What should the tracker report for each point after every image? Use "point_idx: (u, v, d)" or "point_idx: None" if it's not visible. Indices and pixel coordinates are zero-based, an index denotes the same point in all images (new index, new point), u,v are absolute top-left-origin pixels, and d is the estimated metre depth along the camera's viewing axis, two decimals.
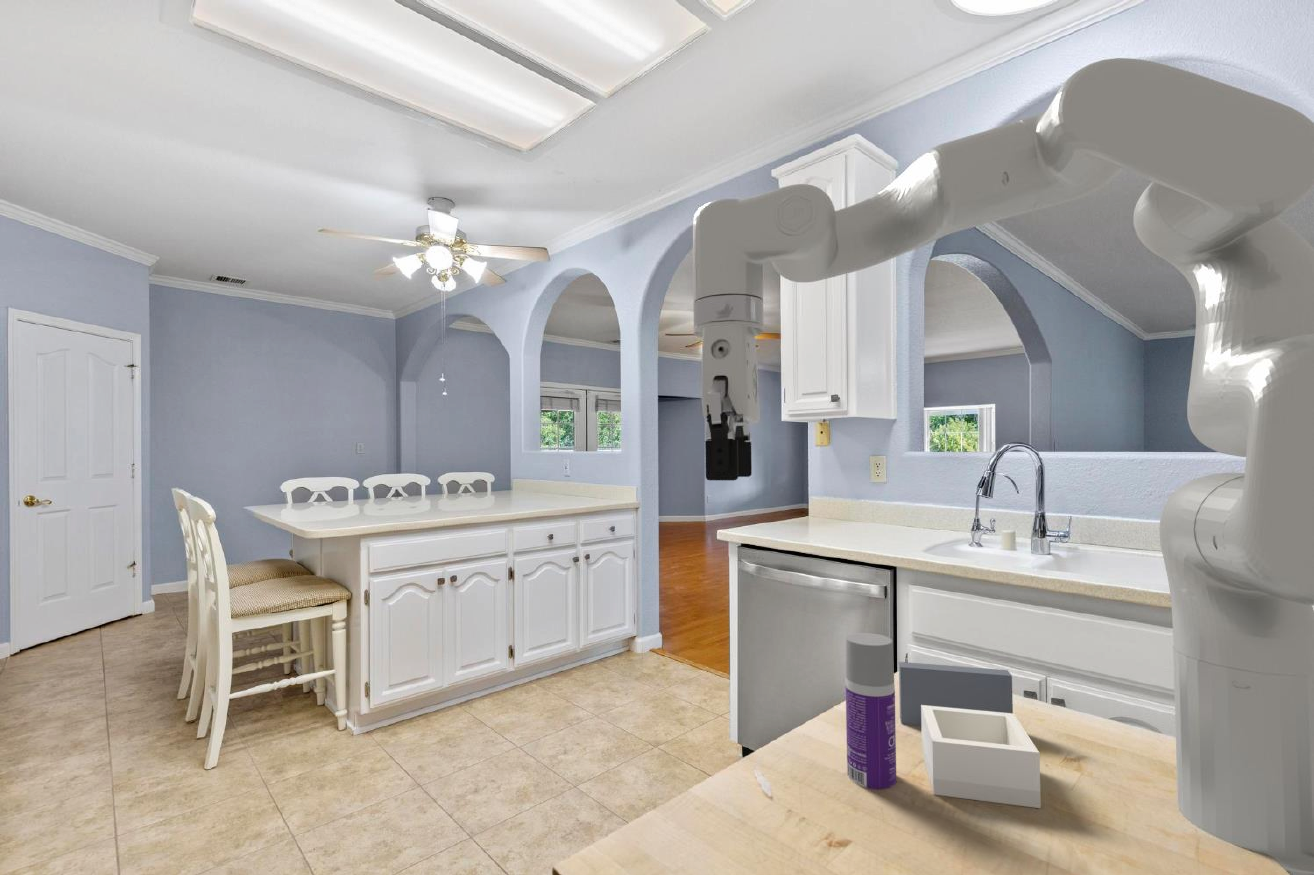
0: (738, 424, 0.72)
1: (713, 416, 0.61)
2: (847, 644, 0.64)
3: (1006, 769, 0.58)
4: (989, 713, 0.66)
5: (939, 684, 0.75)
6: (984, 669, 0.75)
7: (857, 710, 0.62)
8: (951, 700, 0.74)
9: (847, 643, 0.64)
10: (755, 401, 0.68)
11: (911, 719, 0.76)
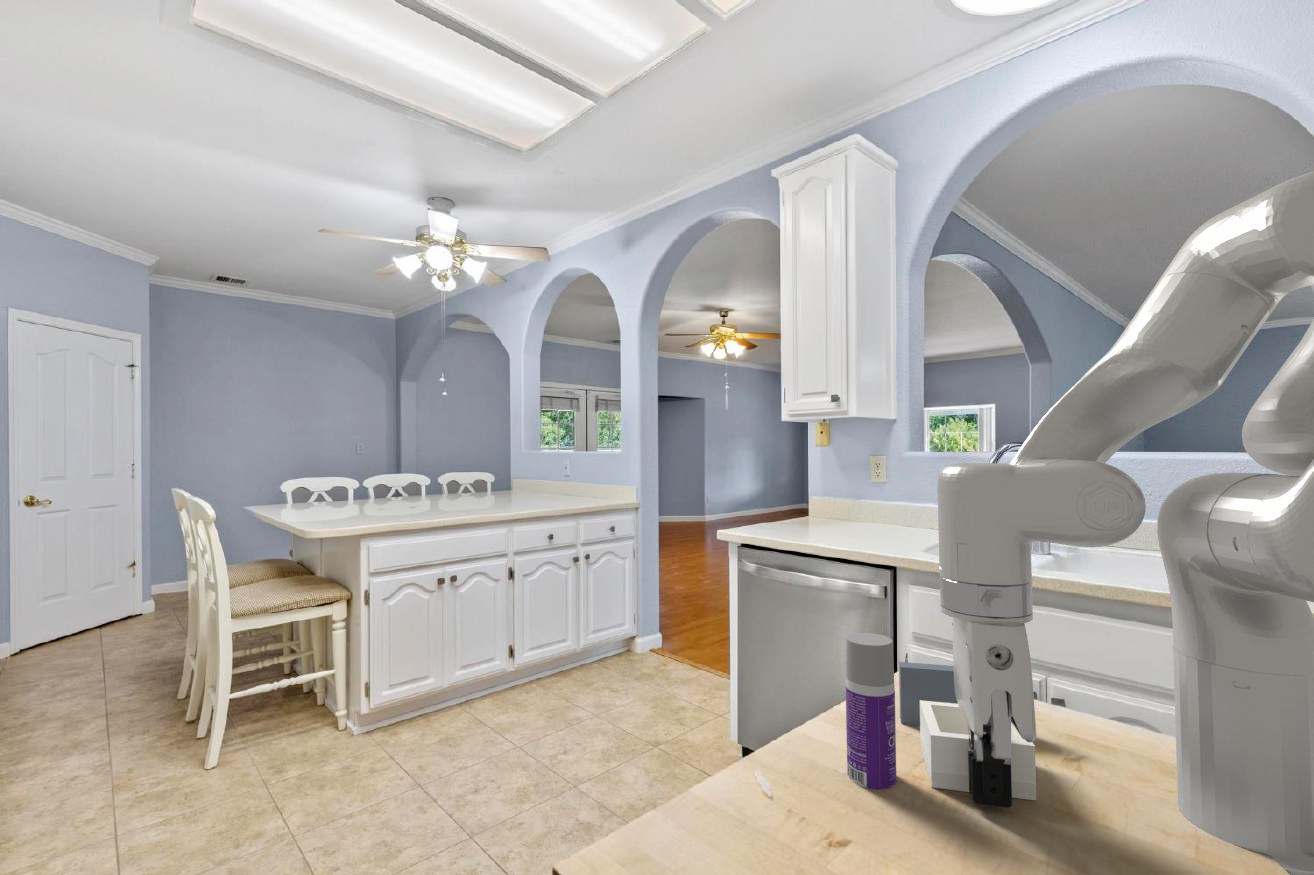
0: None
1: None
2: (847, 644, 0.64)
3: None
4: None
5: (939, 684, 0.75)
6: None
7: (857, 710, 0.62)
8: (951, 700, 0.74)
9: (847, 643, 0.64)
10: None
11: (911, 719, 0.76)
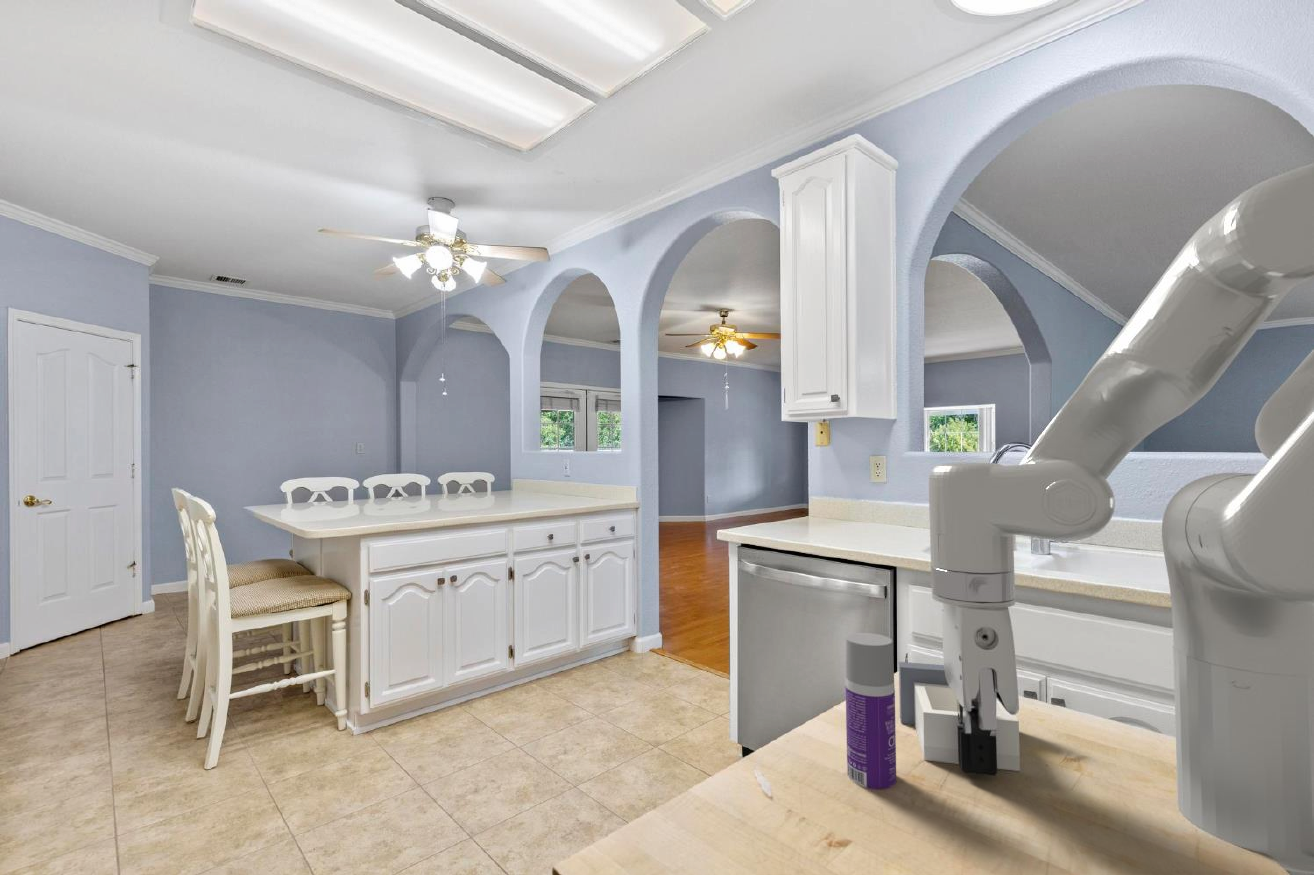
0: None
1: None
2: (847, 644, 0.64)
3: None
4: None
5: (939, 684, 0.75)
6: None
7: (857, 710, 0.62)
8: None
9: (847, 643, 0.64)
10: None
11: (911, 719, 0.76)
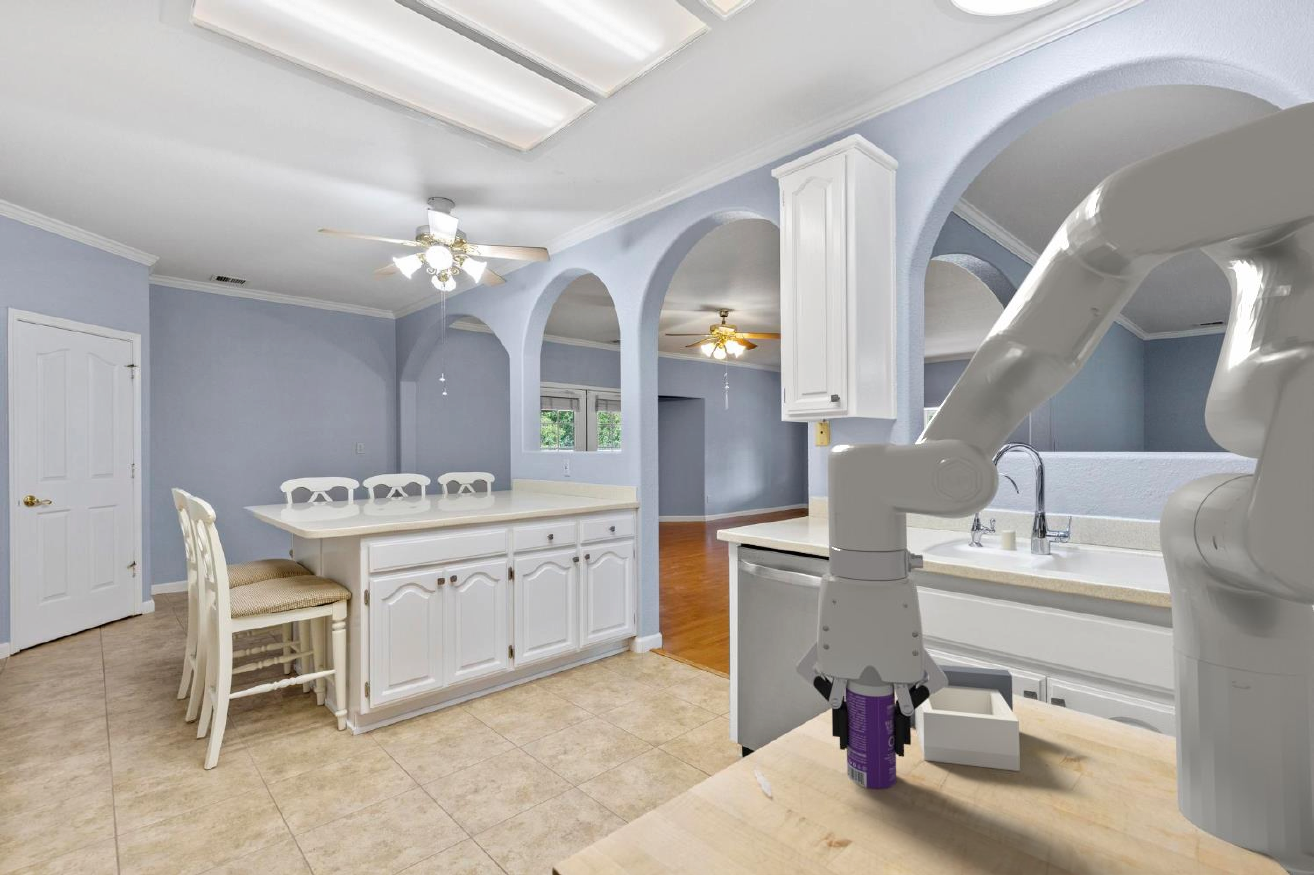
0: None
1: None
2: None
3: (989, 736, 0.65)
4: (975, 689, 0.73)
5: None
6: (984, 669, 0.75)
7: (857, 710, 0.62)
8: None
9: None
10: None
11: (911, 719, 0.76)
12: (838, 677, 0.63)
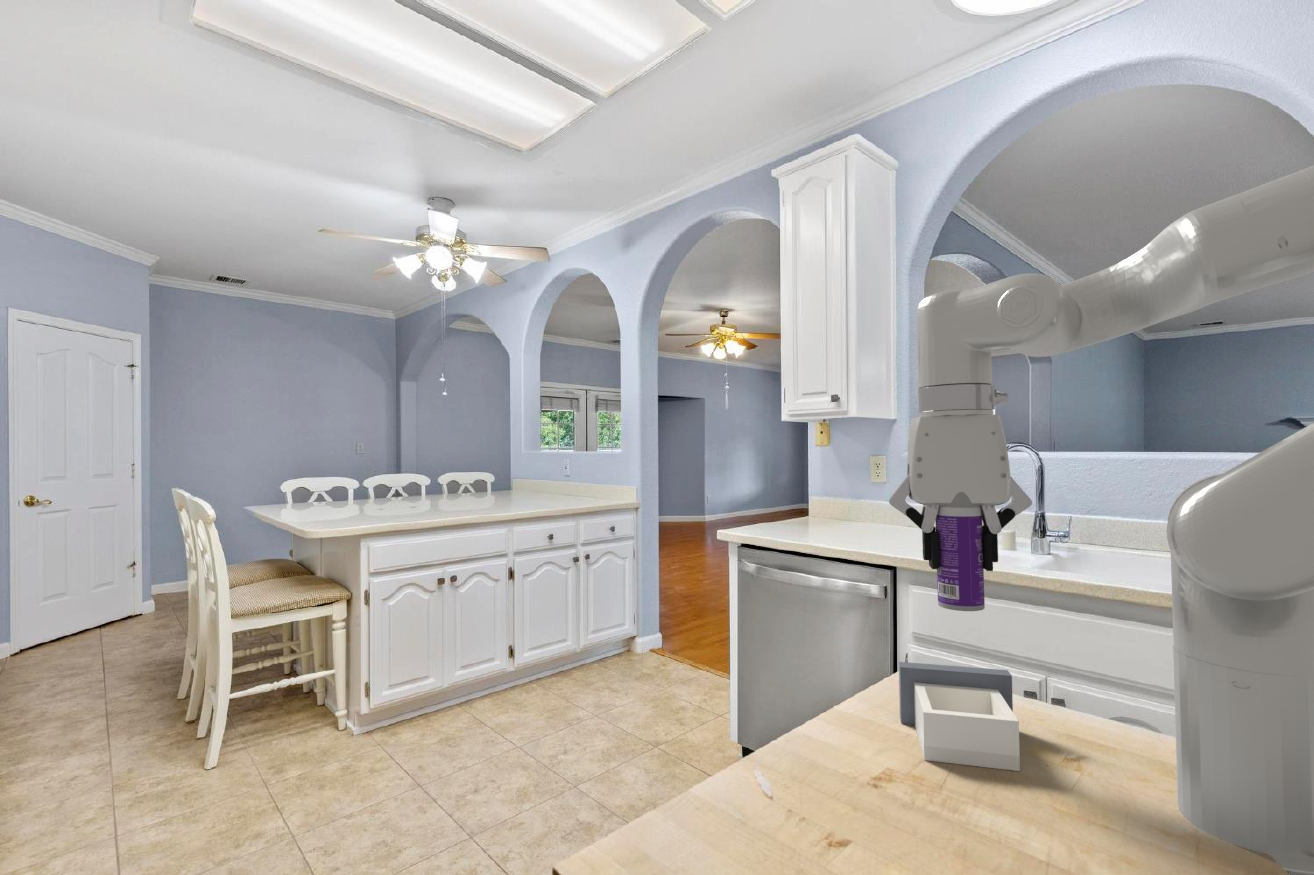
0: None
1: None
2: None
3: (989, 736, 0.65)
4: (975, 689, 0.73)
5: (939, 684, 0.75)
6: (984, 669, 0.75)
7: (948, 531, 0.69)
8: None
9: None
10: None
11: (911, 719, 0.76)
12: (931, 503, 0.70)
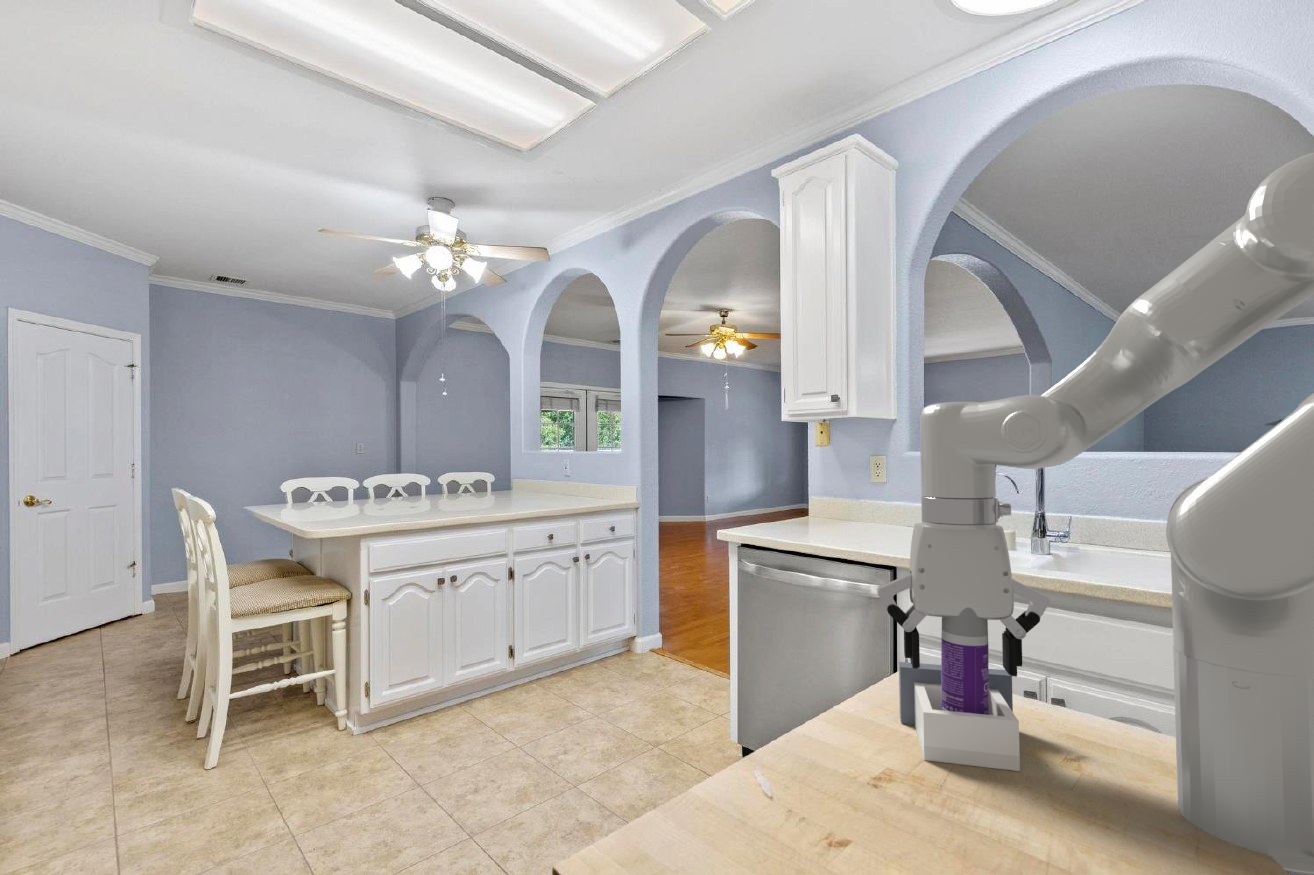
0: None
1: None
2: None
3: (989, 736, 0.65)
4: None
5: (939, 684, 0.75)
6: None
7: (954, 659, 0.69)
8: None
9: None
10: None
11: (911, 719, 0.76)
12: (933, 614, 0.69)
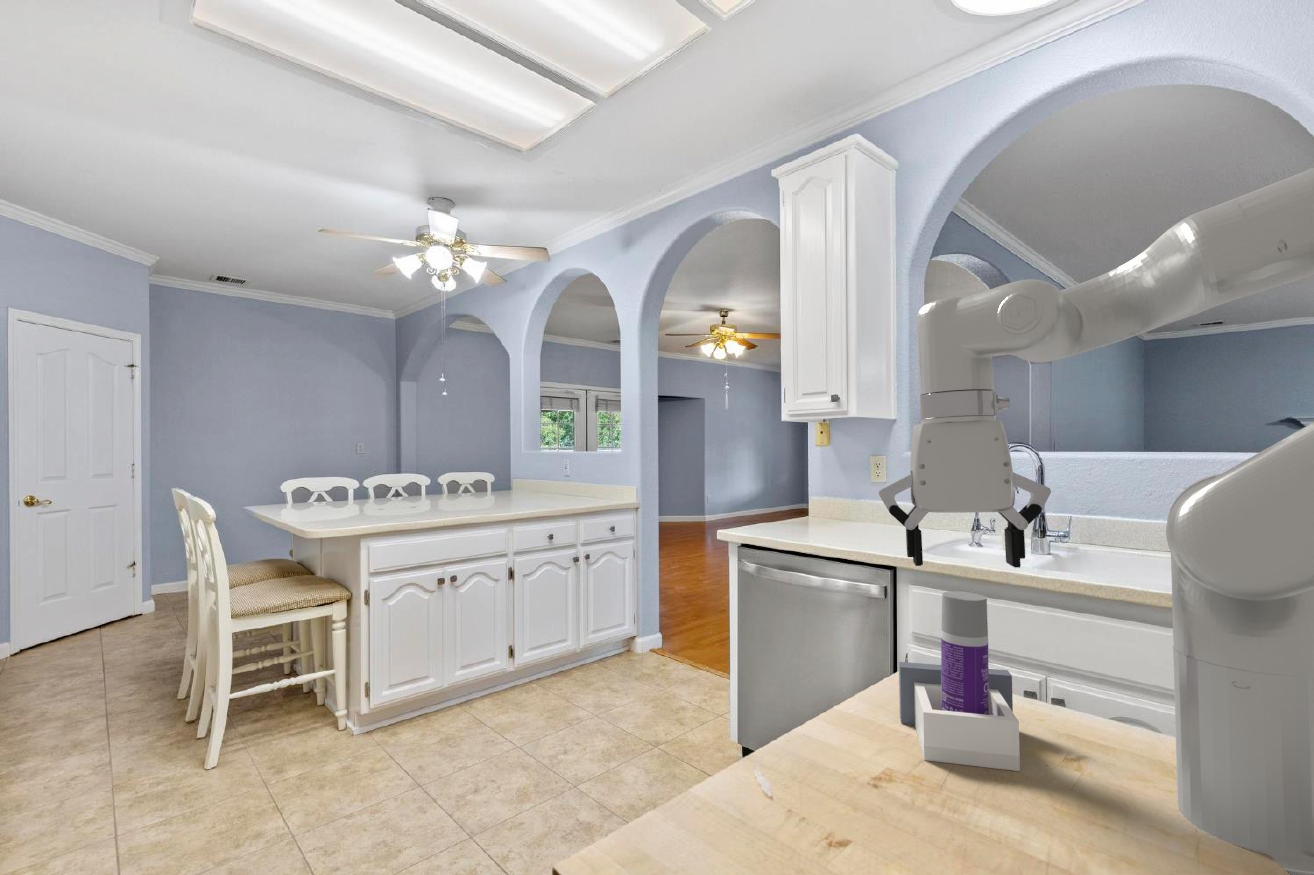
0: None
1: None
2: (944, 600, 0.70)
3: (989, 736, 0.65)
4: None
5: (939, 684, 0.75)
6: None
7: (954, 659, 0.68)
8: None
9: (944, 599, 0.70)
10: None
11: (911, 719, 0.76)
12: (935, 510, 0.69)
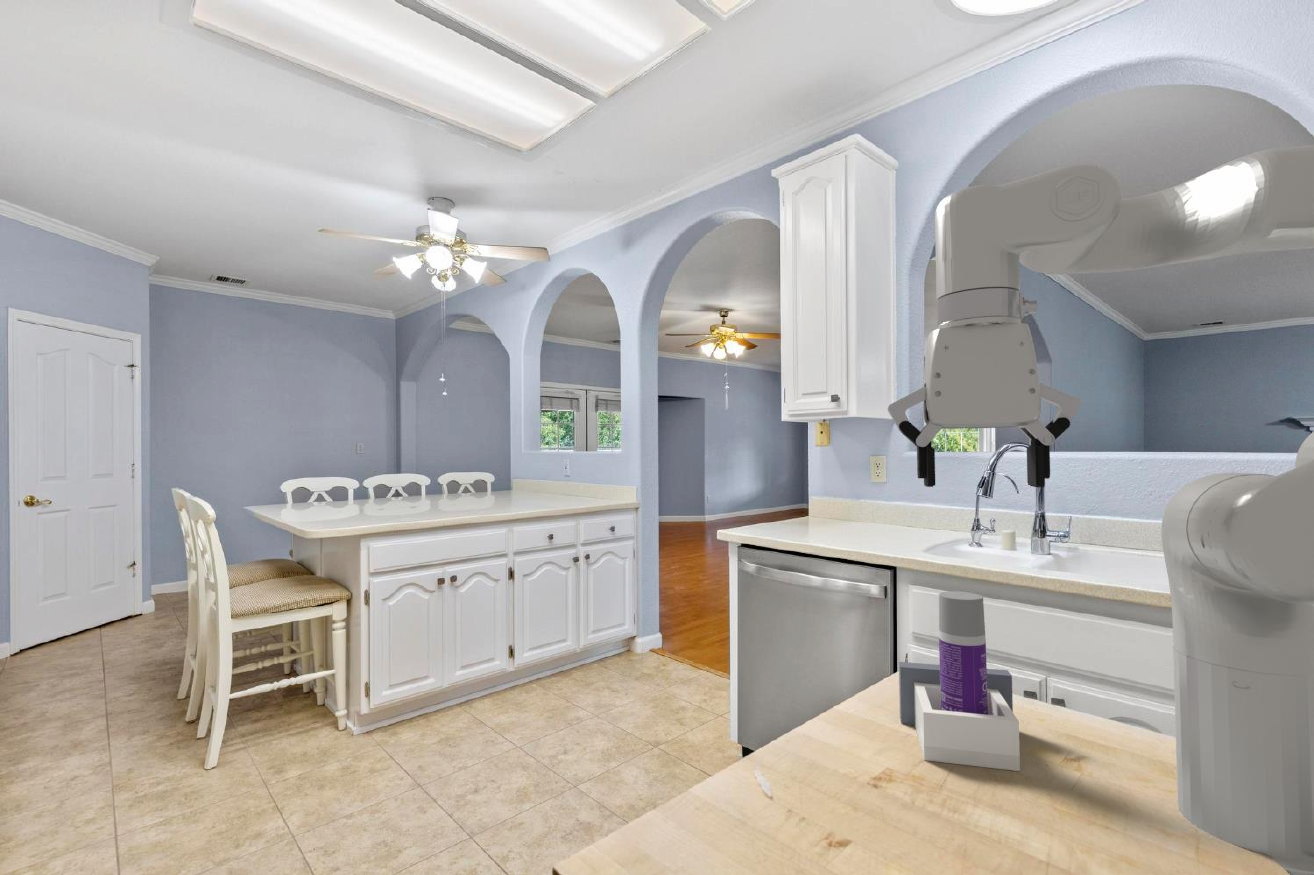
0: None
1: None
2: (941, 600, 0.70)
3: (989, 736, 0.65)
4: None
5: (939, 684, 0.75)
6: None
7: (953, 659, 0.69)
8: None
9: (941, 599, 0.70)
10: None
11: (911, 719, 0.76)
12: (950, 424, 0.62)
